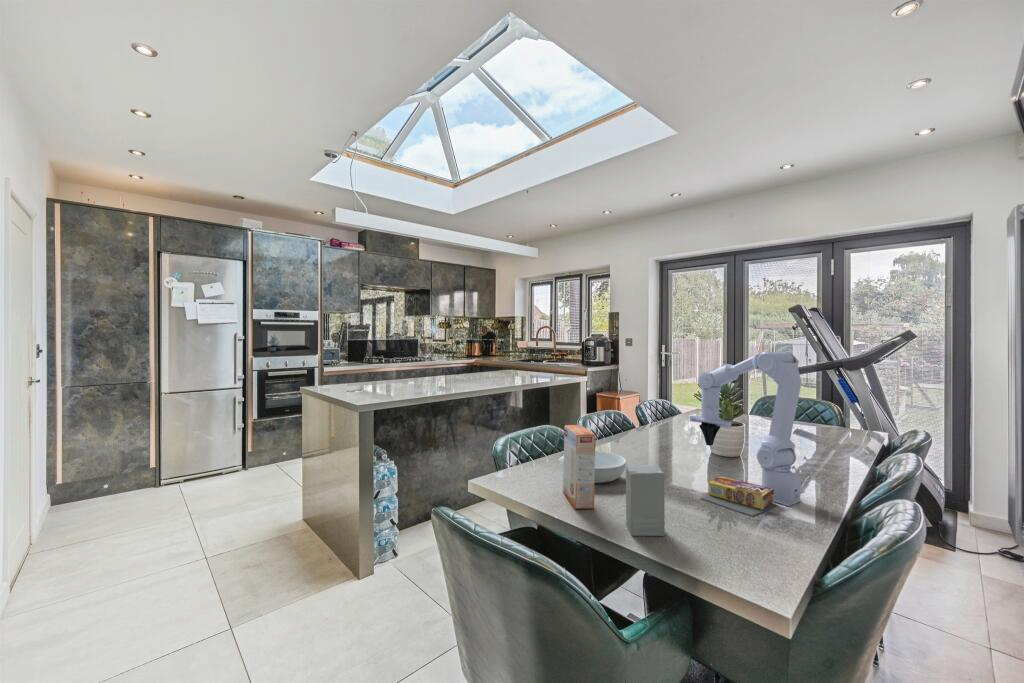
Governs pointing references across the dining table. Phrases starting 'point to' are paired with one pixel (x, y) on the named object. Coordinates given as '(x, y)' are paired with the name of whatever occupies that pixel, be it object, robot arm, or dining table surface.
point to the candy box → (741, 492)
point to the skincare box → (645, 500)
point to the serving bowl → (608, 466)
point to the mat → (737, 506)
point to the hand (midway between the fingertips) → (709, 444)
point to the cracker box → (579, 466)
